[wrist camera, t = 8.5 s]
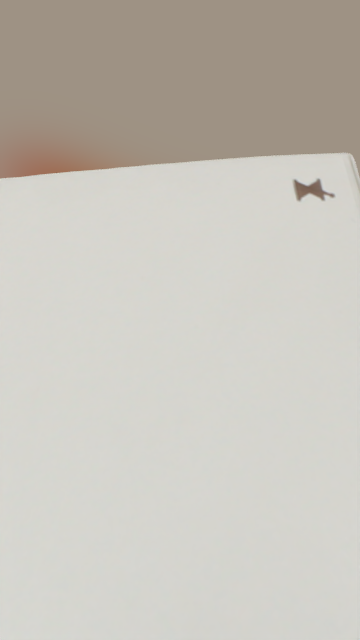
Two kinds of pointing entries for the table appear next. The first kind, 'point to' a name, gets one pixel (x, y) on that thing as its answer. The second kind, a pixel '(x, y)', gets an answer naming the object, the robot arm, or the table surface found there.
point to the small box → (181, 401)
